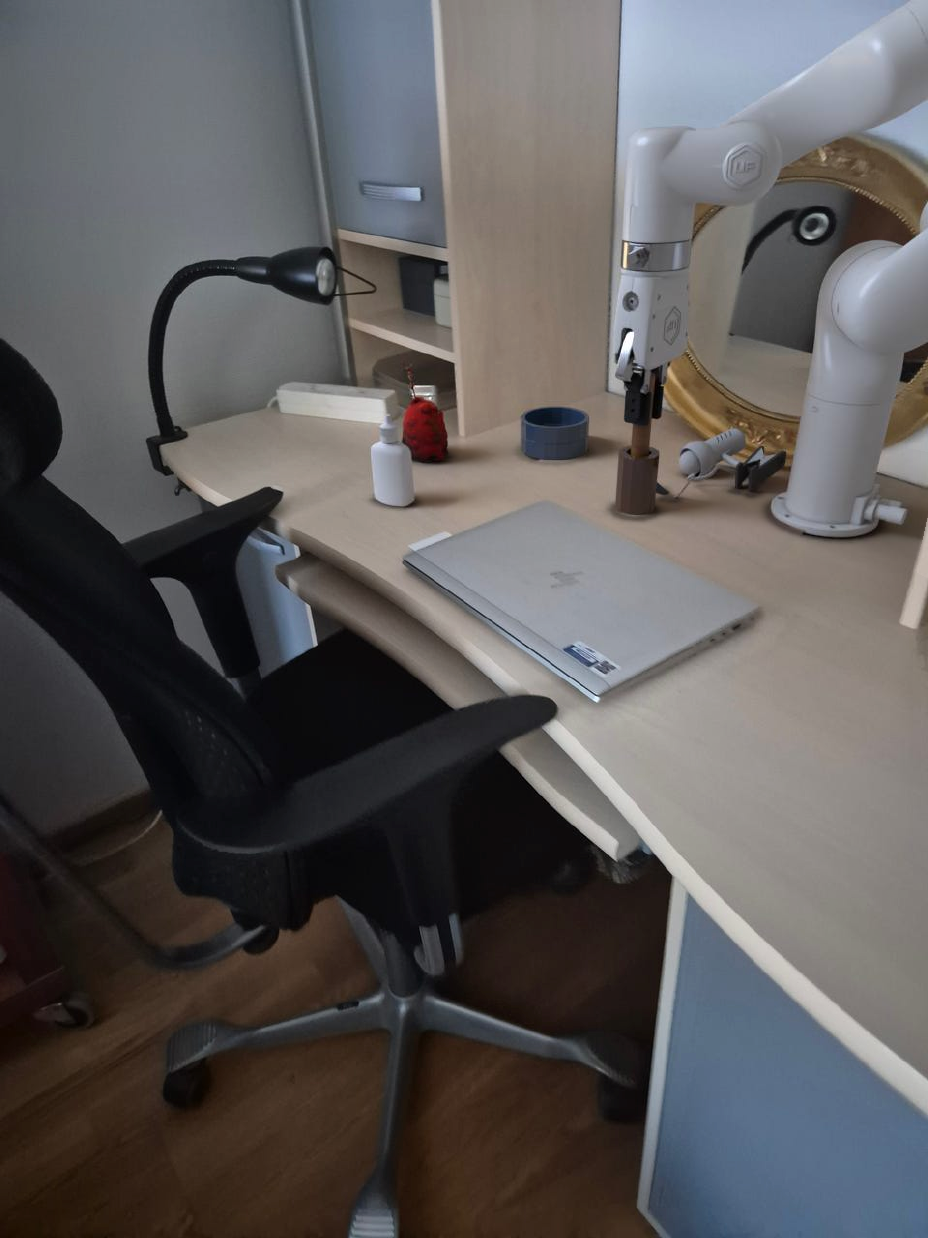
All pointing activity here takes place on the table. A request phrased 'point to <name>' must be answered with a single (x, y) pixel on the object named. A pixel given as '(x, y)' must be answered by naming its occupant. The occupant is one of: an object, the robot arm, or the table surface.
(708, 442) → the clip-on lamp
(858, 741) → the table surface
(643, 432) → the stick
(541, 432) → the bowl
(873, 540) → the table surface
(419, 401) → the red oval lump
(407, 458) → the eye dropper bottle
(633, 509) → the holder
